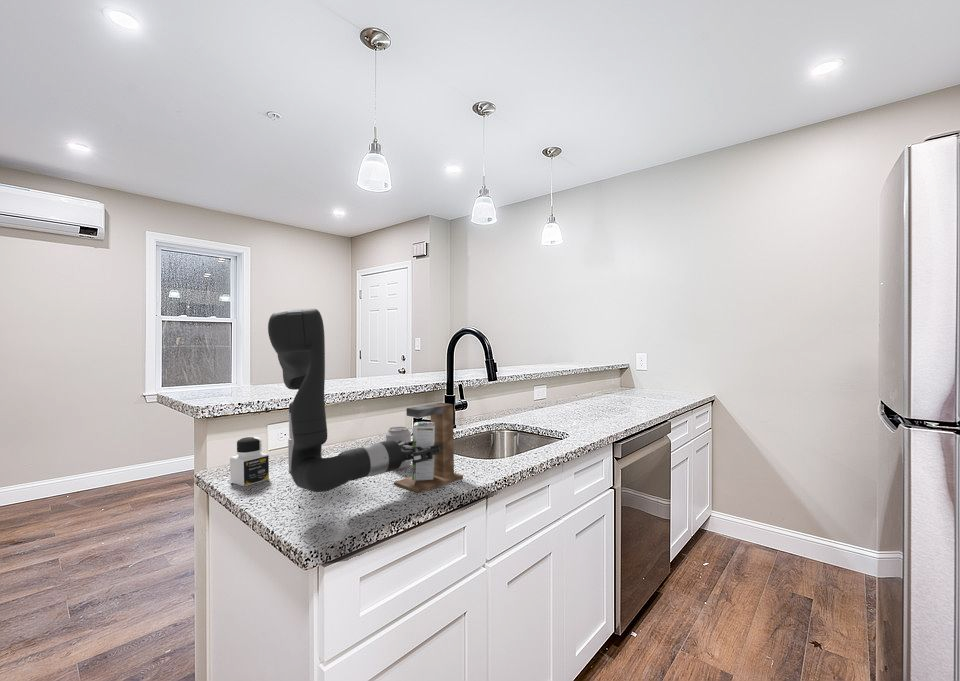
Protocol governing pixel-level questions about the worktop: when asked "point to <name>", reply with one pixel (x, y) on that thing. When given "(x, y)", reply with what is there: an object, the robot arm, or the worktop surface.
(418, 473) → the syrup box
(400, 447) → the robot arm
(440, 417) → the keeper bracket
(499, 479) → the worktop surface
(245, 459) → the medicine bottle
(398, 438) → the can
